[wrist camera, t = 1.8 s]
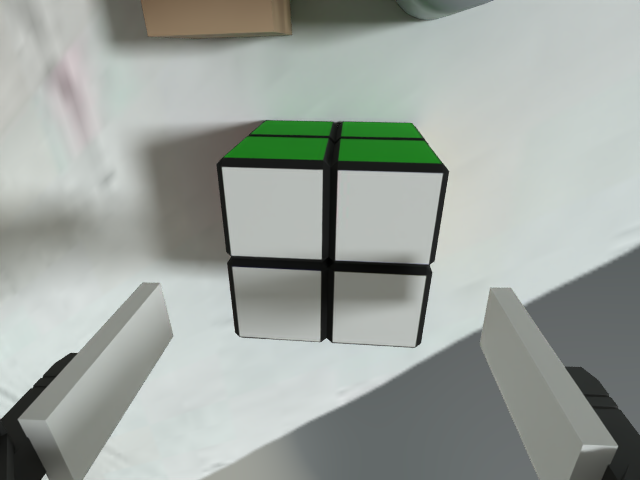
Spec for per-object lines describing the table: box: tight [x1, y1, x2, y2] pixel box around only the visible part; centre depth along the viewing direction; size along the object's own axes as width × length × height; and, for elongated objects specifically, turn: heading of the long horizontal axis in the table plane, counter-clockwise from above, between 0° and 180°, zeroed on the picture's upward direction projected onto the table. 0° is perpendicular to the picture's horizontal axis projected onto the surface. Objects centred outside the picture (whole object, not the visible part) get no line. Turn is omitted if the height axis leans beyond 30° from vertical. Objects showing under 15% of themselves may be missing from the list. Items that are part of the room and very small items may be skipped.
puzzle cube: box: [217, 120, 449, 348], centre depth 23 cm, size 10×10×10 cm
